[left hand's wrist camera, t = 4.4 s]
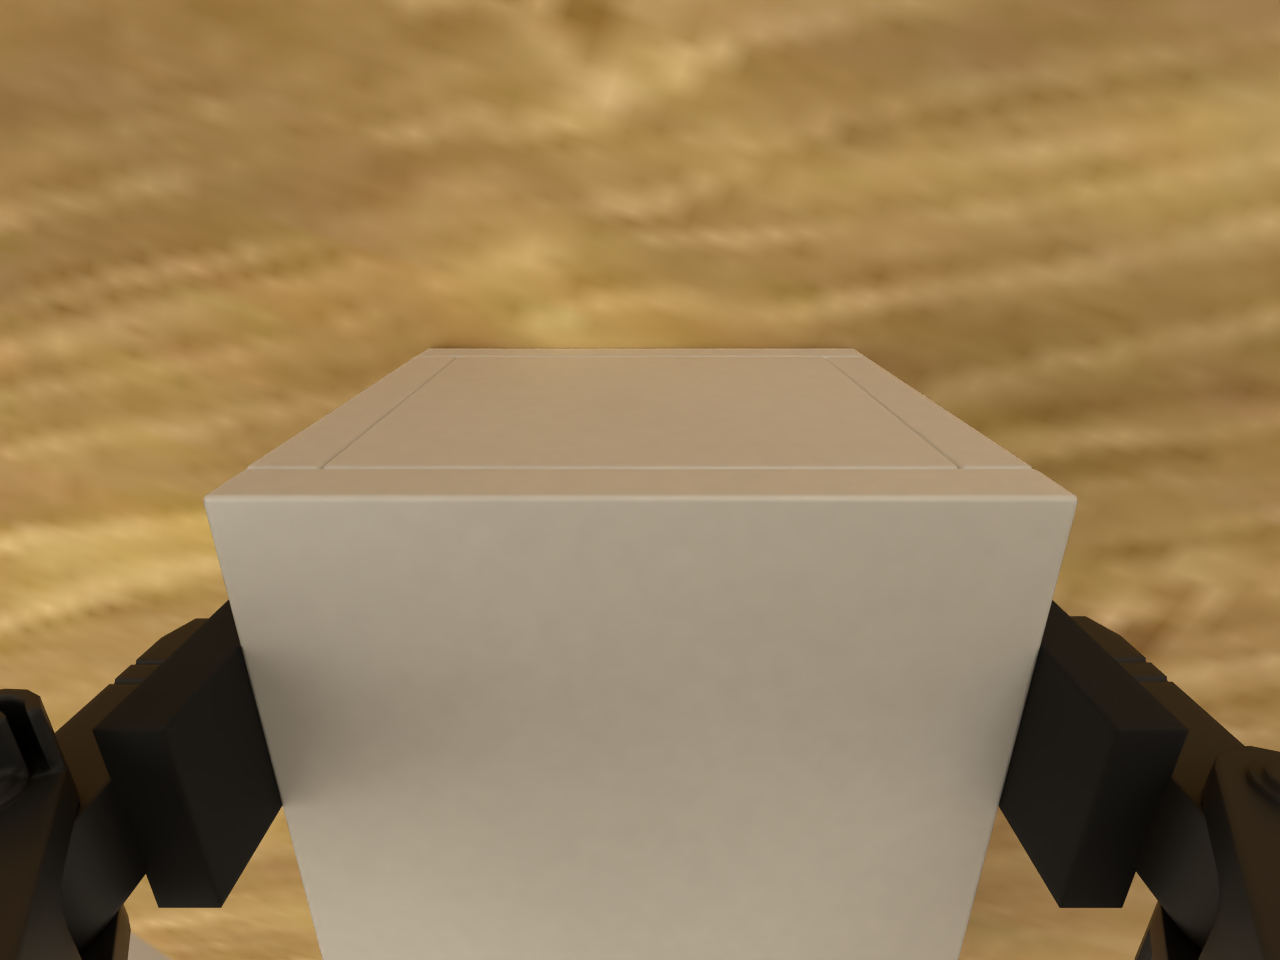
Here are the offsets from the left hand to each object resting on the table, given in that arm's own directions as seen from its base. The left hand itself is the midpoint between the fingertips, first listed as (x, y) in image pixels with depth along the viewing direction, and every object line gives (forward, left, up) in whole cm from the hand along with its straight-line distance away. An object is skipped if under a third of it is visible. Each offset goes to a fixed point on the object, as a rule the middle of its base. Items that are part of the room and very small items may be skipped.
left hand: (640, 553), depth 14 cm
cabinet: (+6, -3, -4) cm, 7 cm away
